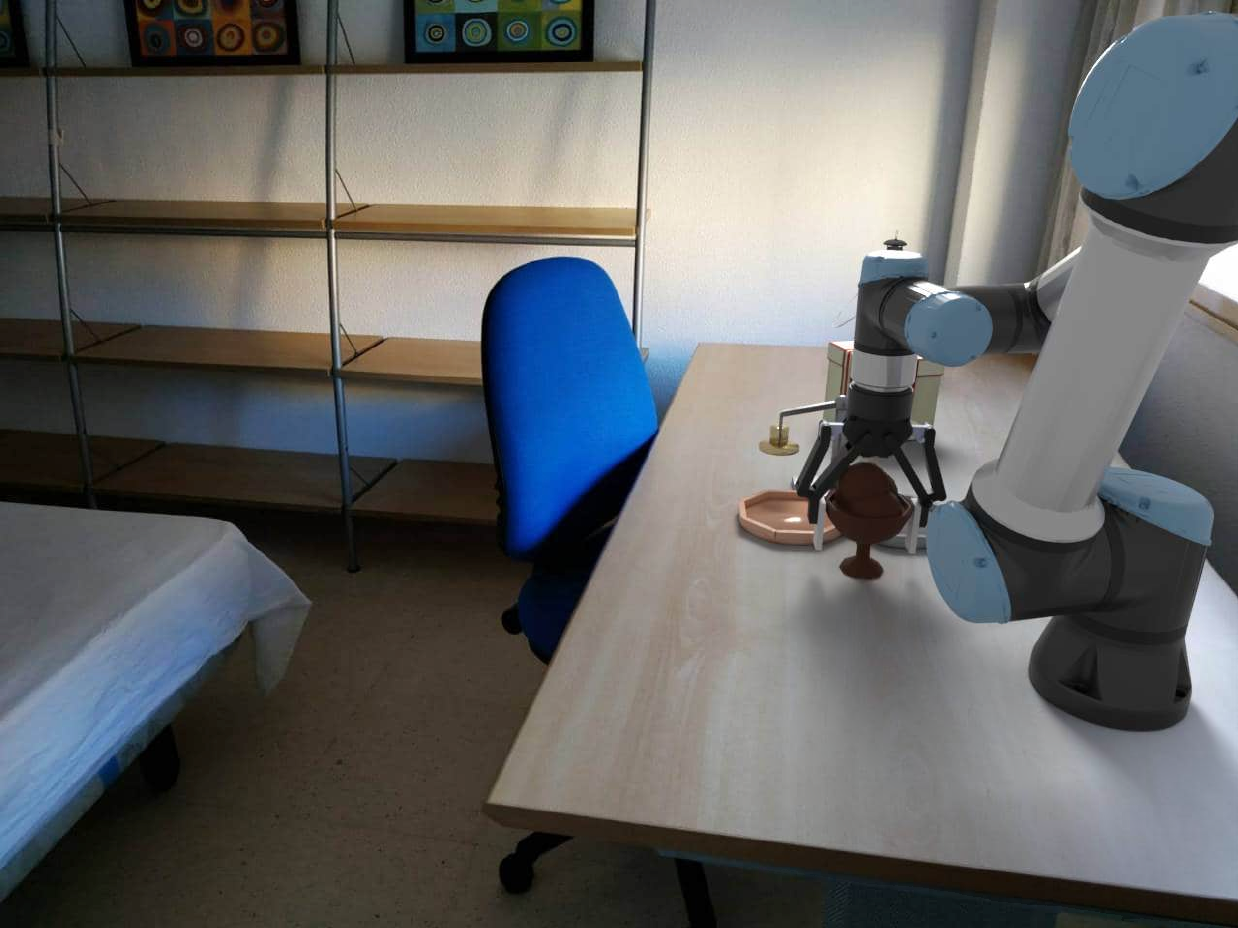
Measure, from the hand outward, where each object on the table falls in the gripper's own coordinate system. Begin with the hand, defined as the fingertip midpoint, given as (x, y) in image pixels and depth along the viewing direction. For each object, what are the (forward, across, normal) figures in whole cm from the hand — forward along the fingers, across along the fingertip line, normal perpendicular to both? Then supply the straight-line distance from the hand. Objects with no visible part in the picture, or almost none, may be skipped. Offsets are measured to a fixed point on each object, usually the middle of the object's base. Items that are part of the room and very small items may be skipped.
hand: (863, 547), depth 125 cm
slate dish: (+3, -8, -14) cm, 16 cm away
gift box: (+4, -13, -57) cm, 58 cm away
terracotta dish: (+3, +8, -14) cm, 16 cm away
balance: (+3, 0, -25) cm, 25 cm away
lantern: (+4, -19, -97) cm, 99 cm away
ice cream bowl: (+3, 0, 0) cm, 3 cm away
